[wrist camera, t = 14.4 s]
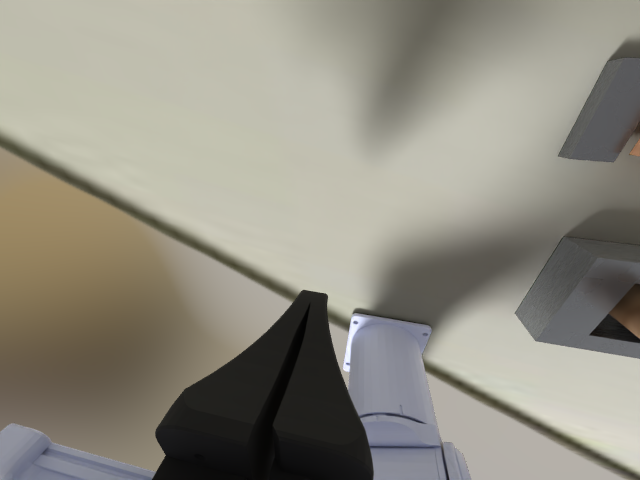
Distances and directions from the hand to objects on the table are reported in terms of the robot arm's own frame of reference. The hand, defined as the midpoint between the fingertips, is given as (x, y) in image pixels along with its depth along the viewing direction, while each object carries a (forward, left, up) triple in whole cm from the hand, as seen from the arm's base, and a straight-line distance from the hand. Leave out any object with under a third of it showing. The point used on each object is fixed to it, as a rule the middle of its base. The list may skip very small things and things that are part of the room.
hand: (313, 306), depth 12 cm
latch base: (+10, -15, -9) cm, 20 cm away
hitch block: (-2, -23, -9) cm, 25 cm away
